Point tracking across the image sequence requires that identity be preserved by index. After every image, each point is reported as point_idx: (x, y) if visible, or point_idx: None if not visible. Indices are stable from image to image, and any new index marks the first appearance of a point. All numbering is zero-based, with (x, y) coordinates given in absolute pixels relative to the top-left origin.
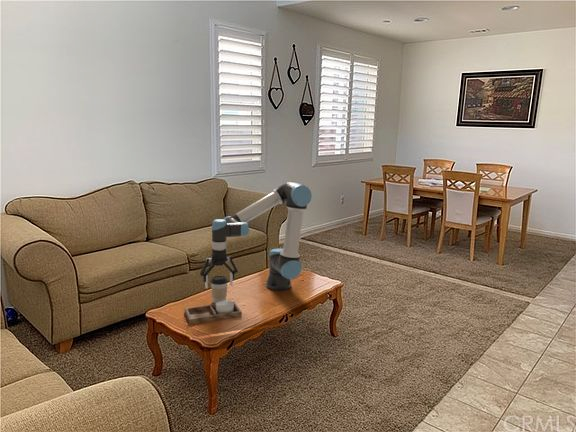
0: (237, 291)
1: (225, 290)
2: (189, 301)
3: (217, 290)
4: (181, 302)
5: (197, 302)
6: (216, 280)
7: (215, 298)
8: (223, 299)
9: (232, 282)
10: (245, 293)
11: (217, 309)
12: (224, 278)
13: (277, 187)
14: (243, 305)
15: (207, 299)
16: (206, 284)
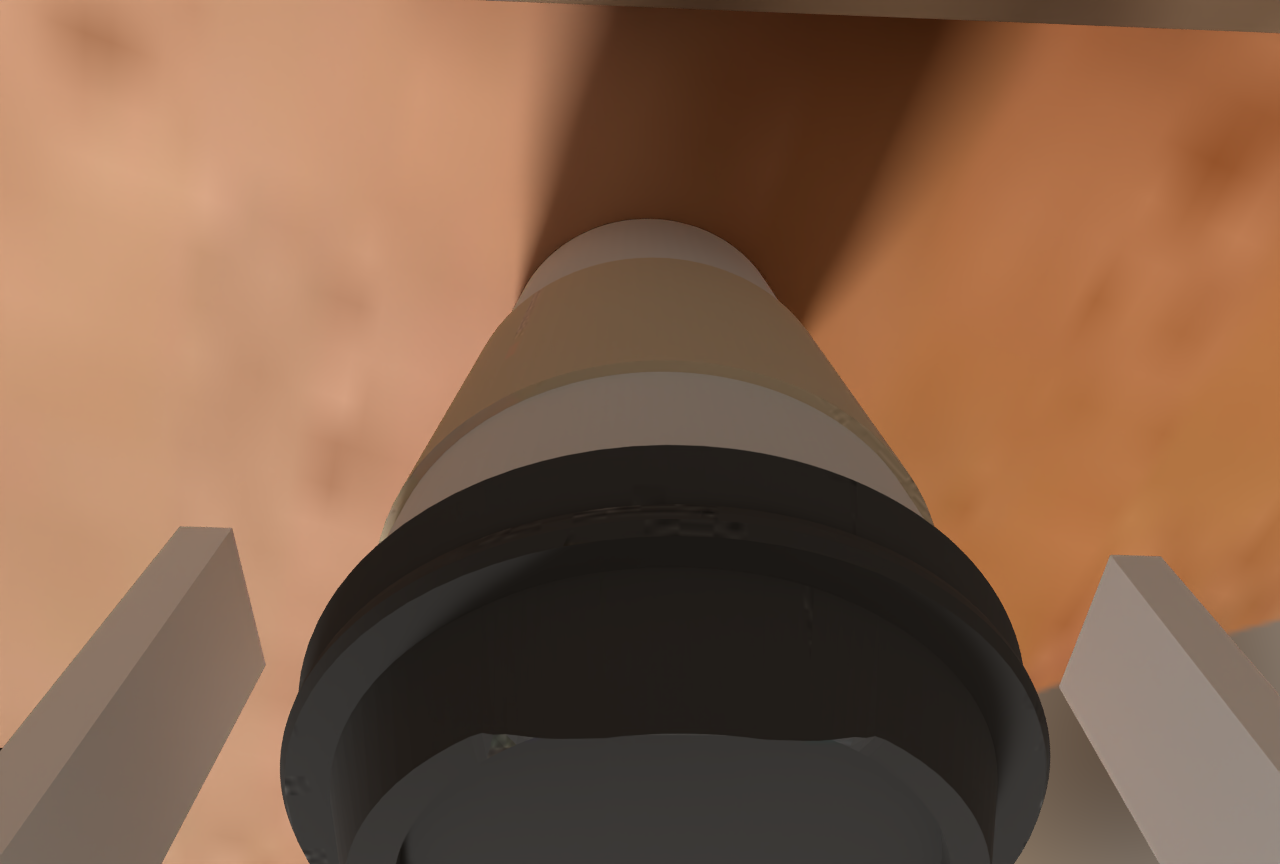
0: None
1: (493, 372)
2: None
3: (803, 373)
4: (1260, 598)
5: (1021, 517)
6: (913, 724)
7: (795, 318)
8: (584, 265)
9: (113, 614)
10: (53, 601)
11: None
12: (422, 808)
13: None
14: (114, 30)
15: None
16: (1248, 670)
